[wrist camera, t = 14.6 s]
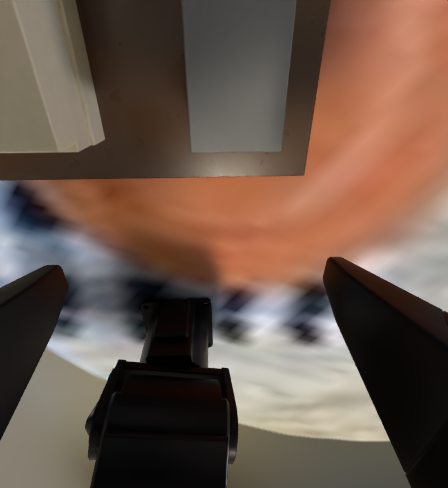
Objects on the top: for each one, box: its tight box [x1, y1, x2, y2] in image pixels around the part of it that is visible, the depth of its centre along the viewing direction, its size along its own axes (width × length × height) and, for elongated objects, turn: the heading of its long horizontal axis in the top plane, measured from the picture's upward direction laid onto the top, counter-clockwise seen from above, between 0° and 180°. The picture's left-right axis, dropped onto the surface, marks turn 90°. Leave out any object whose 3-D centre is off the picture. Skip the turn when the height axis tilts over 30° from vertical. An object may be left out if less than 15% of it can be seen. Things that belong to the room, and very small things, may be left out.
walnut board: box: [0, 0, 330, 180], centre depth 15 cm, size 16×22×1 cm
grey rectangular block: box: [181, 0, 296, 153], centre depth 13 cm, size 12×5×4 cm, turn 0°
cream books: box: [5, 0, 105, 153], centre depth 13 cm, size 11×6×4 cm, turn 0°
